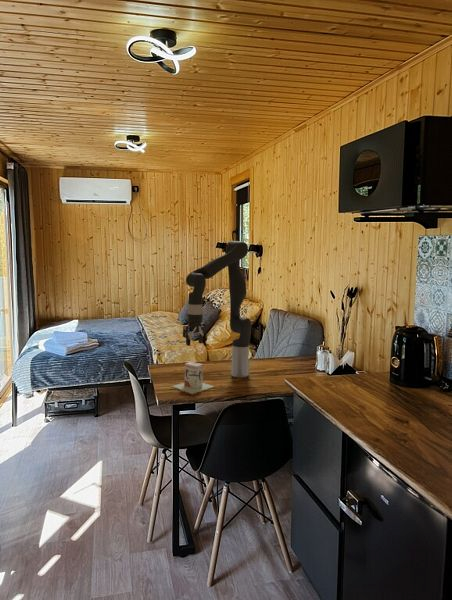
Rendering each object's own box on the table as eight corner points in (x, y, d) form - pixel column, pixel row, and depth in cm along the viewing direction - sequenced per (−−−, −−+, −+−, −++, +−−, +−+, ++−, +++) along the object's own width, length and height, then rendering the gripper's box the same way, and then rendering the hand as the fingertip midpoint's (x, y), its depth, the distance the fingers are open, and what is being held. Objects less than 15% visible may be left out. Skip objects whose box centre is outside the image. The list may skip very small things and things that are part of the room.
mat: (194, 380, 250) (194, 379, 250) (214, 387, 240) (214, 386, 240) (171, 387, 238) (171, 386, 238) (192, 394, 228) (192, 393, 228)
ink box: (183, 385, 239) (184, 363, 238) (189, 383, 243) (190, 361, 242) (197, 389, 235) (197, 366, 233) (203, 386, 239) (203, 364, 237)
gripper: (190, 315, 227) (189, 347, 229) (210, 312, 238) (209, 343, 240) (179, 313, 232) (179, 345, 234) (199, 310, 243) (199, 341, 245)
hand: (194, 344), depth 237 cm, fingers open, 8 cm apart
